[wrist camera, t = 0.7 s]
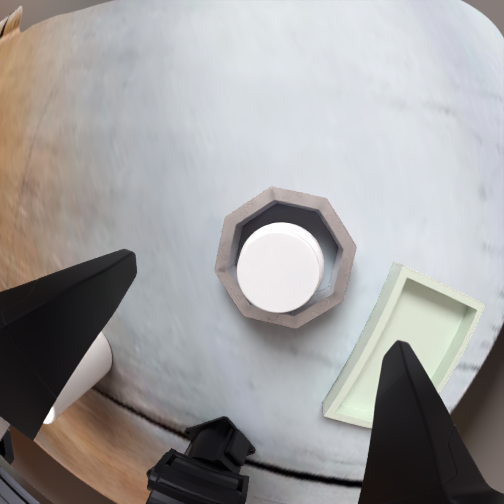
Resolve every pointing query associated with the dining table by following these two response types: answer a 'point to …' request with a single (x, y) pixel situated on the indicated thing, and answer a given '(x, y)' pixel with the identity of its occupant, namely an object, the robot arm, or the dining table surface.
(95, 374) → the candle holder
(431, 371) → the sage tray
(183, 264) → the dining table surface
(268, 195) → the steel collar
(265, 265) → the pill bottle
